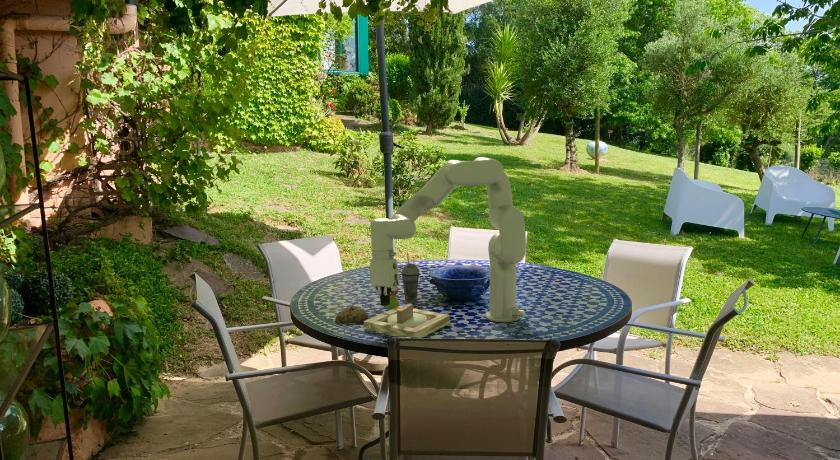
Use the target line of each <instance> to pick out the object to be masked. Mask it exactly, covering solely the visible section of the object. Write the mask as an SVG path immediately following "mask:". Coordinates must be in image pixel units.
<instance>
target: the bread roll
mask: <svg viewBox="0 0 840 460" xmlns="http://www.w3.org/2000/svg"><path fill="white" fill-rule="evenodd" d="M369 317H370V316H369V314H368V312H367V311H366V310H365V308H364V309H363V308H362V307H360V306H353V305H352V306H350V307H345V308H344V309H343V310H341V311H340V312H338V314H336V317H335V319H334V322H335V323H336V324H343V325H345V324H350V323H351V324H361V323H360V322H364V321H366V320H368V319H370V318H369ZM351 324H350V325H351Z"/></svg>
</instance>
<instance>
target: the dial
mask: <svg viewBox="0 0 840 460" xmlns="http://www.w3.org/2000/svg"><path fill="white" fill-rule="evenodd" d="M413 309H414V304H413V303H407V304H405V305H404V306H403V307H402V308H401V309H398V310H397V314H393V315H391V316H389V317H388V323H390V324H395V325H400V326H405V327H410V328H415V327H417V326H419V325H421V324H423V323H425V322H427V317H426V316H425V315H423V314H419V313H413Z"/></svg>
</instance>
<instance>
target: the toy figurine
mask: <svg viewBox="0 0 840 460" xmlns="http://www.w3.org/2000/svg"><path fill="white" fill-rule="evenodd" d="M398 293H399V289H398V290H395V291H392V292H391V293H390V304H389V305H387V306H384V307H385V308H386V309H387V311H389V310H392V309H394V308H396V307H399V306H400V302H399V300H398V298H397V297H399V294H398Z"/></svg>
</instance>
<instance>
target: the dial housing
mask: <svg viewBox="0 0 840 460" xmlns="http://www.w3.org/2000/svg"><path fill="white" fill-rule="evenodd" d="M402 307H404V306H402V305H399V307H396V308H394V309H392V310H387V311H385V312H382V313H380V314H378V315H375V316H373V317H371V318H369V319H368V320H366V321H364V323H363V330H364V329H367V330H366V331H368V330H372V331H371V332H373V331H376V332H375V333H377V332H381V333H380V334H382V333H385V334H384V335H387V334H388V336H392V337H396V336H398V337H397V338H401V337H422V338H425V336H428V335H430V334H432V333H434V332H436V331H437V330H439V329H441V328H443V327H446V326H447V325H449V324H451V315H450V314H444V313H440V312H435V311H430V310H429V311H428V310H423V309H418V308H413V313H419V314H423V315H425V316H426V317H427V322H425V323H423V324H421V325H419V326H417V327H415V328H410V327H405V326H400V325H395V324H390V323H388V317H389V316H391V315H393V314H397V310H398V309H401V308H402Z"/></svg>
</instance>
